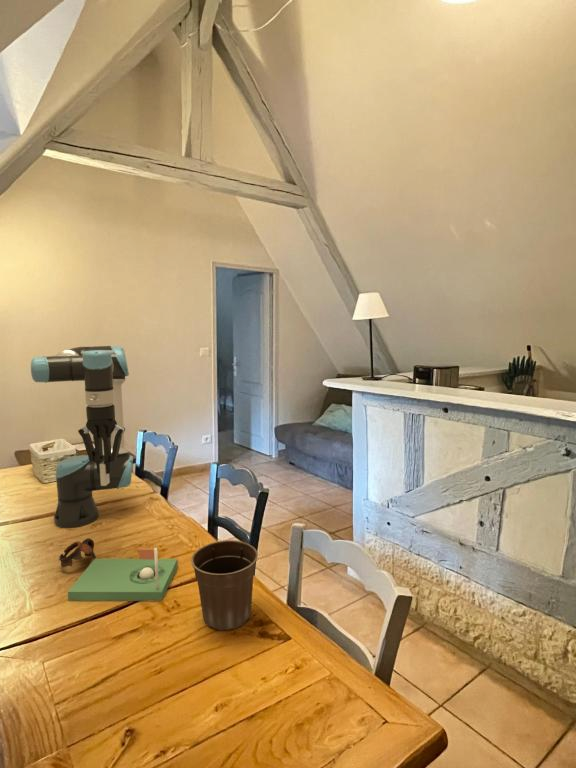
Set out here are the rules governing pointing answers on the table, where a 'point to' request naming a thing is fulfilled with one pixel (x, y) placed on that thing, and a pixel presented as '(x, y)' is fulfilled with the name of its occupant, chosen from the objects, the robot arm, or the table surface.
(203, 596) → the plant pot
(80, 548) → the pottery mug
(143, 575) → the ball
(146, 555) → the flag pin
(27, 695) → the table surface
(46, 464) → the storage basket
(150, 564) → the green
